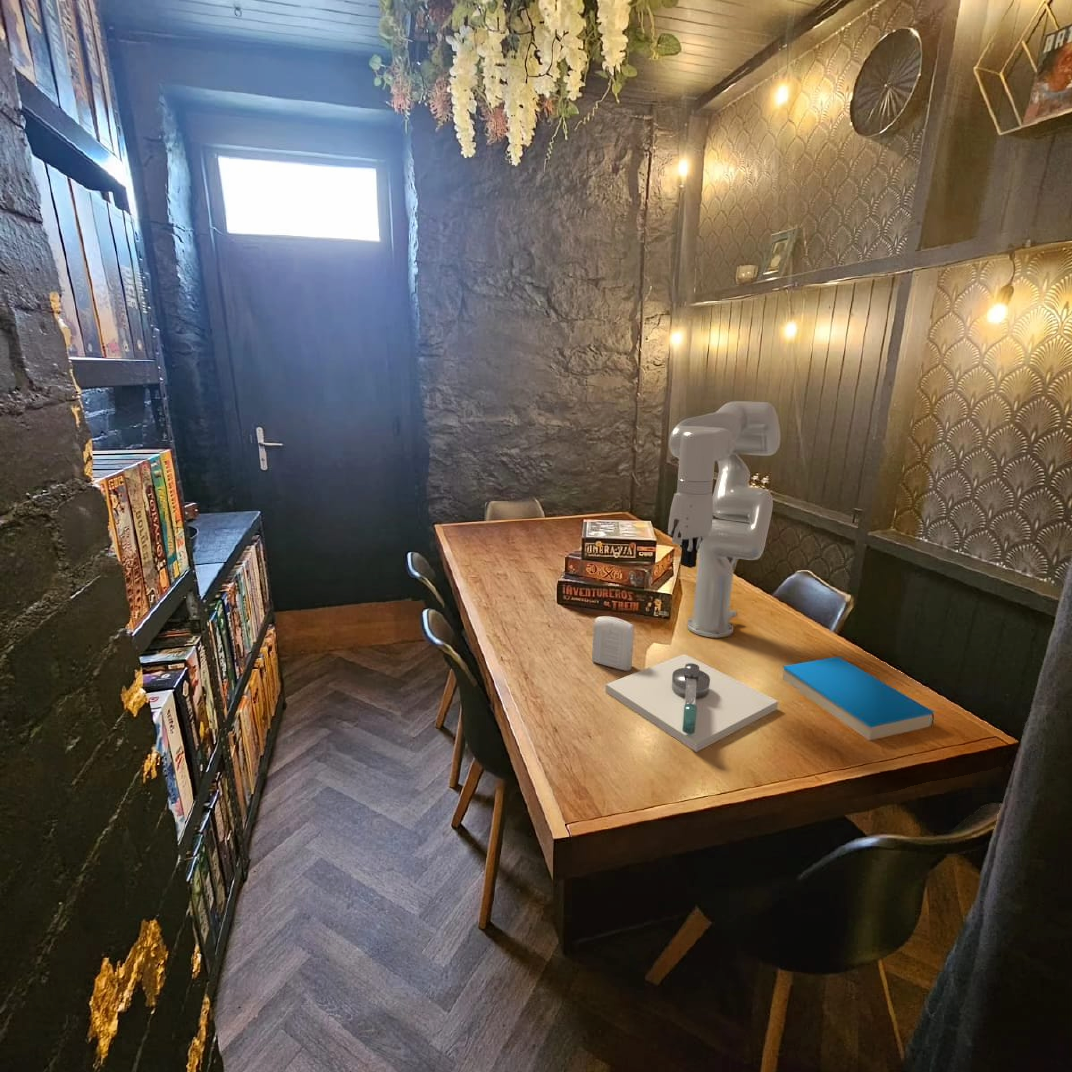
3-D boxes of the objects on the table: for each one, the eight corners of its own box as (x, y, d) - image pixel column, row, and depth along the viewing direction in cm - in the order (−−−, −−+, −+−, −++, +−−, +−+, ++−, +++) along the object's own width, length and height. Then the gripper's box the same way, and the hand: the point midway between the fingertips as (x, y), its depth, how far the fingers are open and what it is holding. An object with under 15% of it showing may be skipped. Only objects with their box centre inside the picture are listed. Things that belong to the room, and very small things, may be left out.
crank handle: (672, 677, 132) (674, 653, 130) (708, 682, 130) (711, 658, 128) (666, 733, 111) (669, 706, 110) (709, 740, 109) (712, 712, 108)
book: (871, 726, 112) (782, 664, 135) (868, 744, 114) (779, 681, 136) (936, 711, 118) (839, 654, 140) (932, 729, 119) (836, 670, 142)
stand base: (683, 661, 144) (684, 653, 144) (776, 709, 124) (778, 700, 123) (605, 692, 130) (606, 683, 130) (696, 752, 110) (697, 742, 109)
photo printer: (634, 665, 142) (637, 619, 139) (628, 673, 139) (631, 625, 135) (596, 655, 147) (598, 610, 144) (589, 662, 143) (590, 616, 140)
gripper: (703, 481, 134) (696, 556, 139) (658, 487, 126) (653, 567, 131) (730, 486, 128) (722, 564, 133) (684, 493, 120) (678, 576, 125)
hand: (688, 565), depth 132 cm, fingers closed
